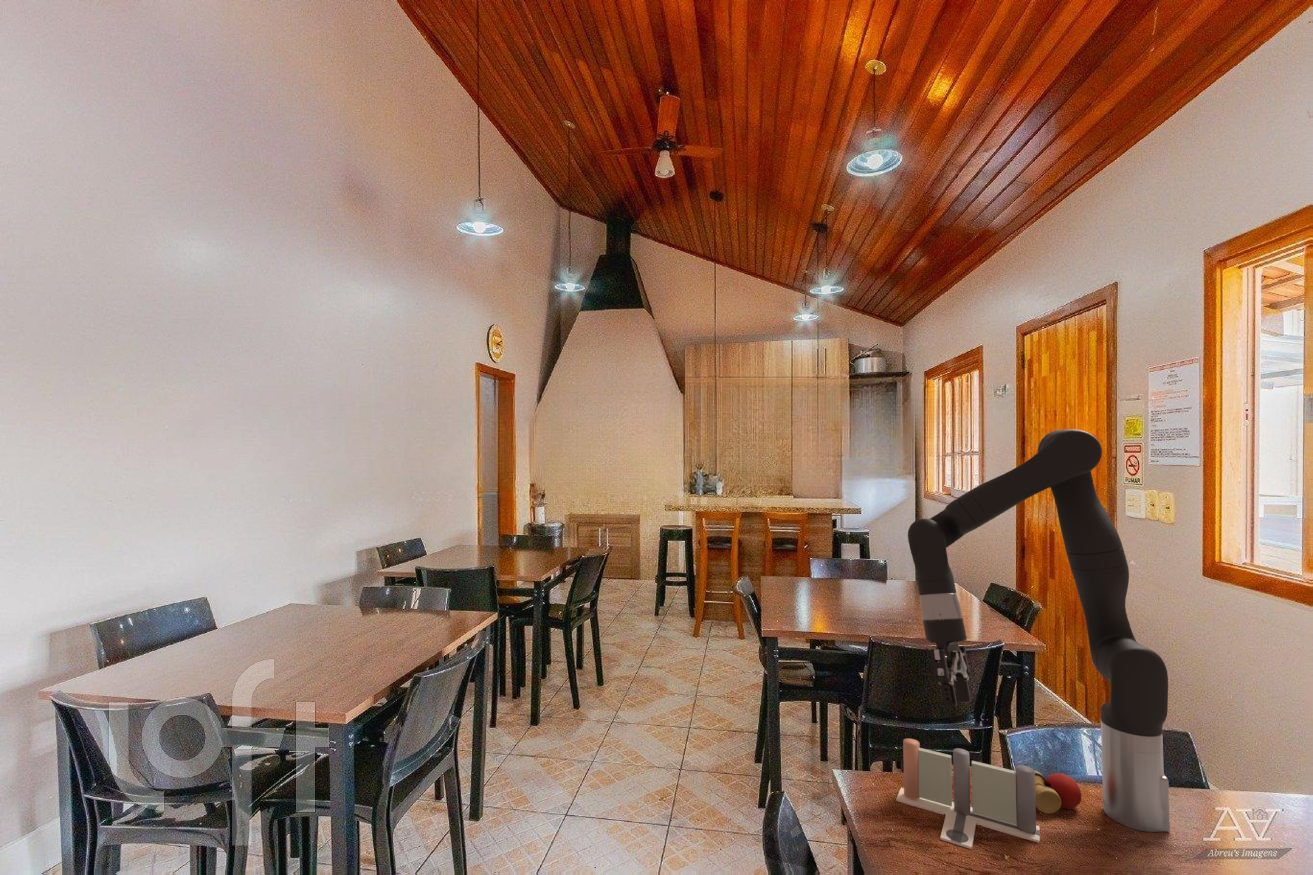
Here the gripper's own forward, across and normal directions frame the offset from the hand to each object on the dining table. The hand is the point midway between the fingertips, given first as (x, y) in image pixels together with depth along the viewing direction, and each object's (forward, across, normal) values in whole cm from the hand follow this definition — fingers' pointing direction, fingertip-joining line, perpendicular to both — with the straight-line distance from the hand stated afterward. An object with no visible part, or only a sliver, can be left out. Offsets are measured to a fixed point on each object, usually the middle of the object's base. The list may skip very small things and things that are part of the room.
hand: (958, 703), depth 116 cm
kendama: (+20, +16, -5) cm, 26 cm away
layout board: (+21, -1, +3) cm, 21 cm away
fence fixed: (+21, +4, -1) cm, 21 cm away
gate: (+18, +1, +10) cm, 20 cm away
